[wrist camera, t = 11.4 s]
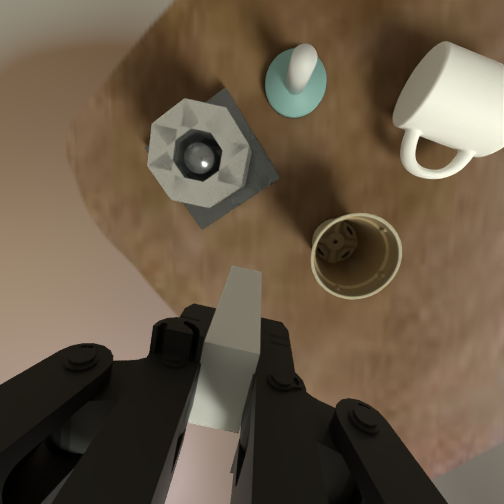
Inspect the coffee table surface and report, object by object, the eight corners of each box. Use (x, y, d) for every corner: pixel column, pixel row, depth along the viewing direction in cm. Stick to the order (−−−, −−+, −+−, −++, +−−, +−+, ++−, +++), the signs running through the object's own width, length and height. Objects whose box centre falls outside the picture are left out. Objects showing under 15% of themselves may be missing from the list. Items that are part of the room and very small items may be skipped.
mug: (414, 61, 31) (463, 22, 24) (491, 92, 32) (565, 64, 24) (368, 164, 34) (399, 160, 27) (439, 191, 35) (490, 194, 27)
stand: (305, 38, 31) (318, -6, 24) (335, 95, 32) (356, 70, 25) (253, 76, 32) (251, 46, 25) (284, 130, 34) (291, 116, 26)
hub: (227, 91, 33) (213, 57, 24) (279, 178, 35) (285, 177, 26) (149, 149, 35) (110, 138, 26) (204, 227, 37) (185, 243, 28)
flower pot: (322, 192, 35) (340, 196, 27) (384, 225, 36) (420, 238, 28) (287, 254, 38) (294, 276, 29) (346, 284, 38) (369, 313, 30)
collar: (176, 108, 30) (155, 91, 24) (256, 126, 30) (255, 114, 24) (165, 191, 32) (144, 193, 26) (240, 207, 32) (235, 213, 26)
